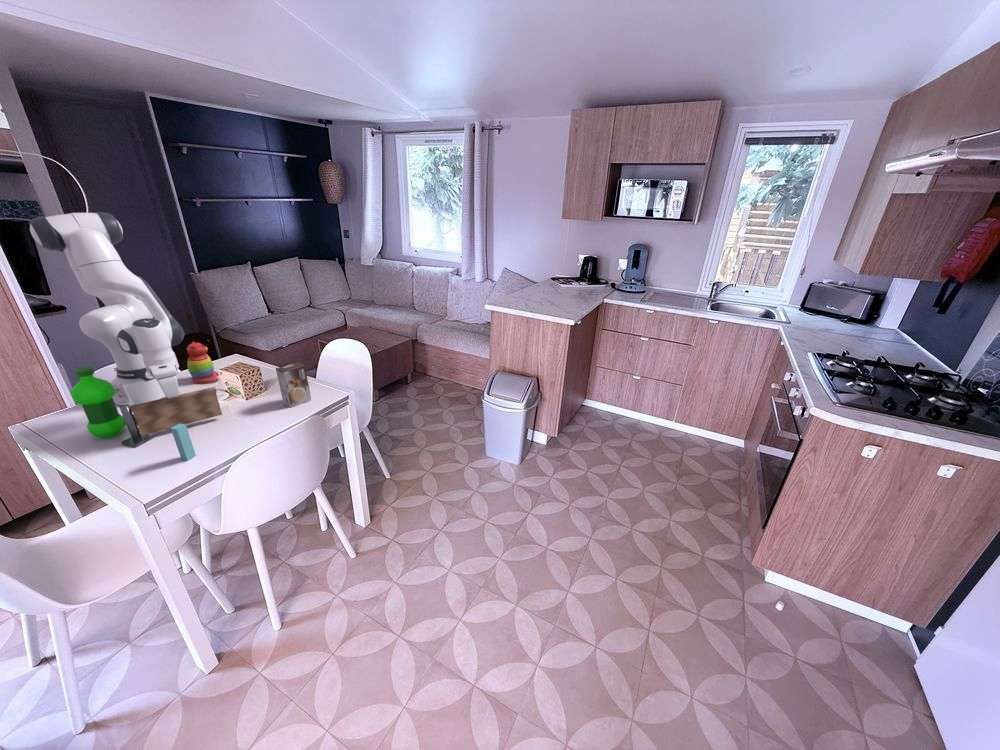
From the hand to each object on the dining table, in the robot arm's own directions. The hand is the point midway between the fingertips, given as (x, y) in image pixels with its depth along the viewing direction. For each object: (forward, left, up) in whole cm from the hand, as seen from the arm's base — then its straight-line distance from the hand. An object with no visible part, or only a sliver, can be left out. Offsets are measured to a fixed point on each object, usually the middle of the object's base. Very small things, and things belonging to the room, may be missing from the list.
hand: (174, 399), depth 145 cm
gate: (+5, -3, -8) cm, 9 cm away
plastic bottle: (-16, -13, -10) cm, 23 cm away
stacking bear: (-23, +32, -10) cm, 41 cm away
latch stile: (+21, -17, -10) cm, 28 cm away
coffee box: (+29, +26, -10) cm, 40 cm away
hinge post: (-3, -14, -10) cm, 17 cm away
